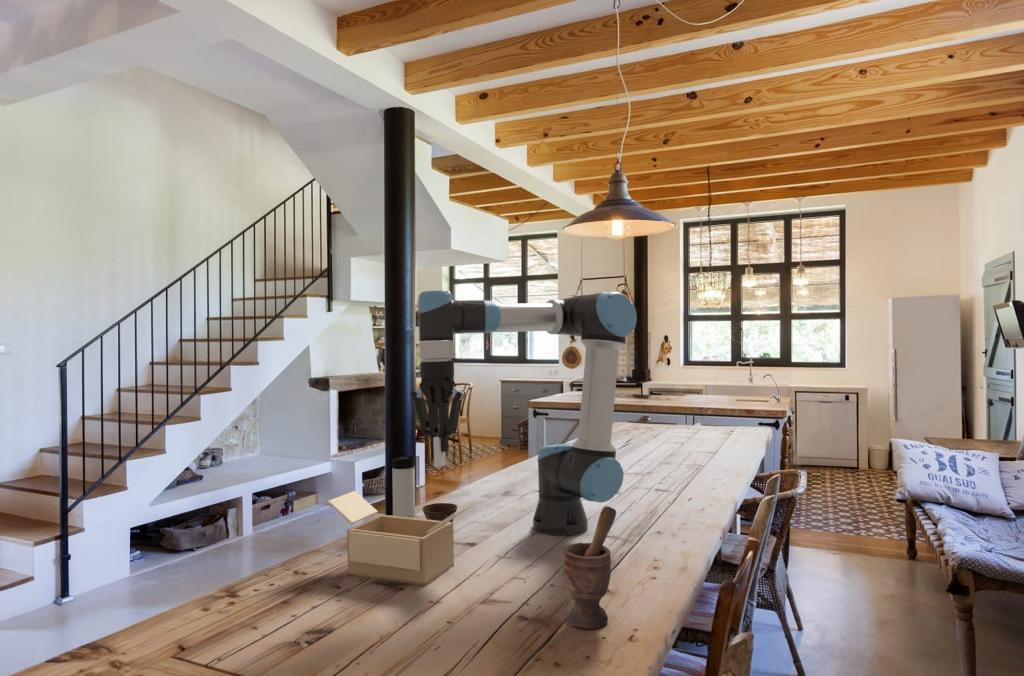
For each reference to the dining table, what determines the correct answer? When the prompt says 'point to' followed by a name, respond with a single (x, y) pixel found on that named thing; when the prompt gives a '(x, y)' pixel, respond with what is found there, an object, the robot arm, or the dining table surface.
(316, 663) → the dining table surface
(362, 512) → the flap far
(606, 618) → the mortar and pestle
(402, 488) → the travel mug
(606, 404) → the robot arm
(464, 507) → the flap near
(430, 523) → the carton
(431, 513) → the cup
